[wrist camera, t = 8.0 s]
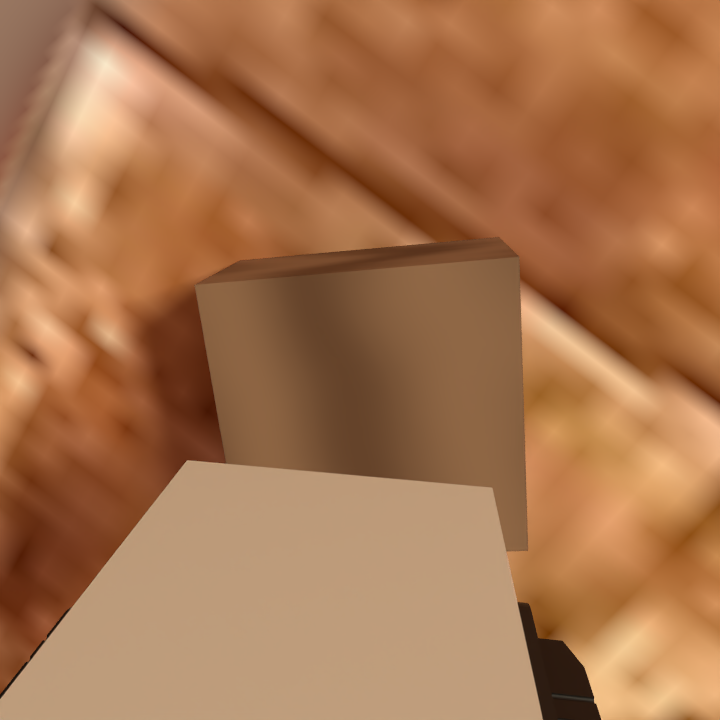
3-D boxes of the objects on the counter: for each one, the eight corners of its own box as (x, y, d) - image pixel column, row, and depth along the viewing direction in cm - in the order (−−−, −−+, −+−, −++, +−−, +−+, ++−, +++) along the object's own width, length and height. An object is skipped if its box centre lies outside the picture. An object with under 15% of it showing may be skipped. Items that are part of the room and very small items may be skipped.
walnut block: (498, 236, 22) (519, 256, 17) (507, 474, 24) (527, 550, 20) (242, 259, 23) (194, 285, 18) (276, 485, 25) (243, 560, 21)
